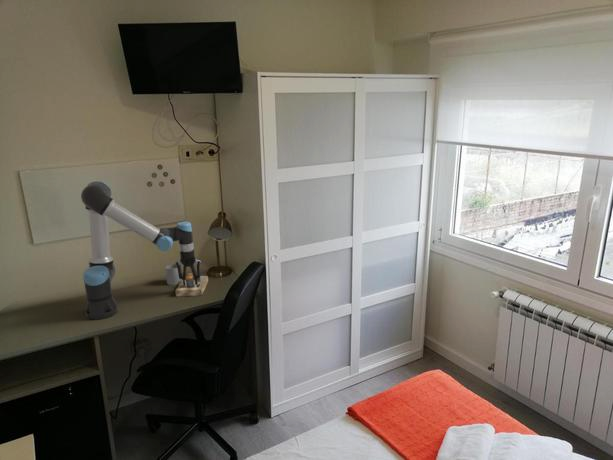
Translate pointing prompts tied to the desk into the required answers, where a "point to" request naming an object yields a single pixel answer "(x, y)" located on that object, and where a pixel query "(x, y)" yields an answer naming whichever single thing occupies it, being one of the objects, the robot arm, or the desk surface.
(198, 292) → the socket board
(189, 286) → the orange grey cylinder
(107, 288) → the robot arm
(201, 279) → the shutter
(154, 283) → the desk surface
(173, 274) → the cup
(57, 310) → the desk surface
